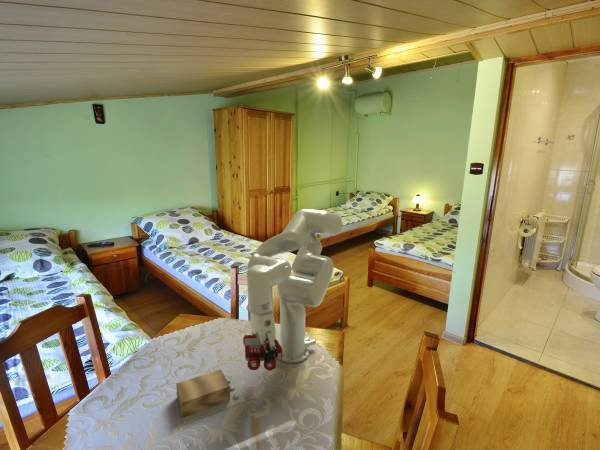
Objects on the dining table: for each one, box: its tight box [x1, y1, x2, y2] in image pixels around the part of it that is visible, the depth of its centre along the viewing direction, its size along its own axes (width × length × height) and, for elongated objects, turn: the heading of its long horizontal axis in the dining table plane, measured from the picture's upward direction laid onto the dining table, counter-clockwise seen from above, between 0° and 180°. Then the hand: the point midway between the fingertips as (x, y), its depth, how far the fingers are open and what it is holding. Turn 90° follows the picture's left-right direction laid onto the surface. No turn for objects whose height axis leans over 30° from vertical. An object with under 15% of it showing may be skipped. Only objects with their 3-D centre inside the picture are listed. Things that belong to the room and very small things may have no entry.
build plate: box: [175, 374, 246, 425], centre depth 100 cm, size 18×14×2 cm
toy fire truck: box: [242, 334, 282, 371], centre depth 104 cm, size 7×12×10 cm, turn 90°
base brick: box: [175, 369, 230, 419], centre depth 99 cm, size 14×9×5 cm, turn 120°
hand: (263, 352), depth 104 cm, fingers closed on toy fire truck, 8 cm apart
